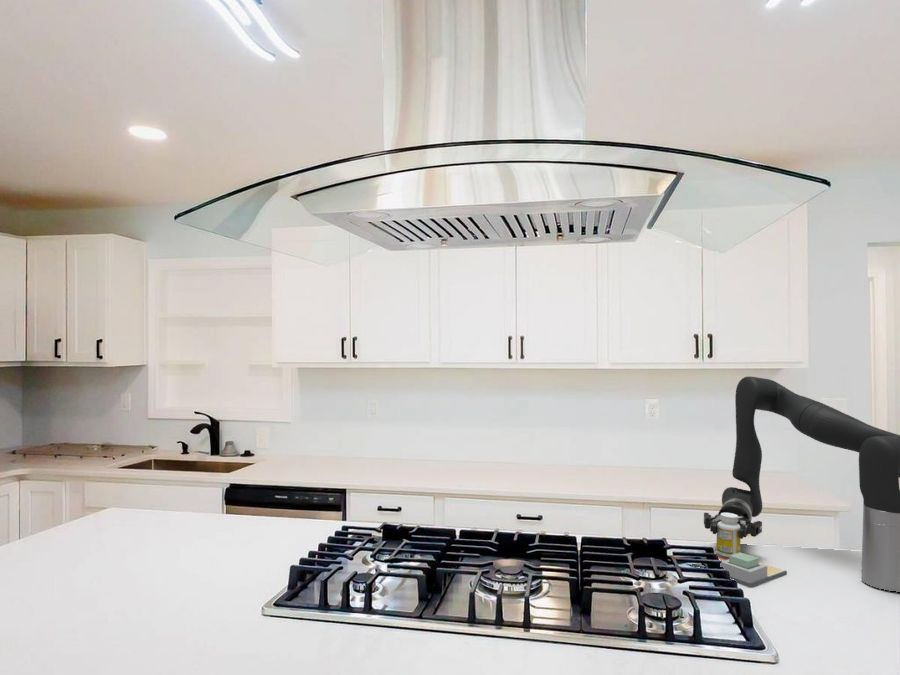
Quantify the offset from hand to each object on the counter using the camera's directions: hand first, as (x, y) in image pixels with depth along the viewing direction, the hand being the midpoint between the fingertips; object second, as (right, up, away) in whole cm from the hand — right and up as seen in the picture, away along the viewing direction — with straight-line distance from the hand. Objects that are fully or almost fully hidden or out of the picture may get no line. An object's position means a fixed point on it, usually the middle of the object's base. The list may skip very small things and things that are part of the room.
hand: (727, 532), depth 148 cm
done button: (-1, -5, -9) cm, 11 cm away
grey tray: (0, -8, -3) cm, 8 cm away
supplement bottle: (+1, -6, +2) cm, 7 cm away
